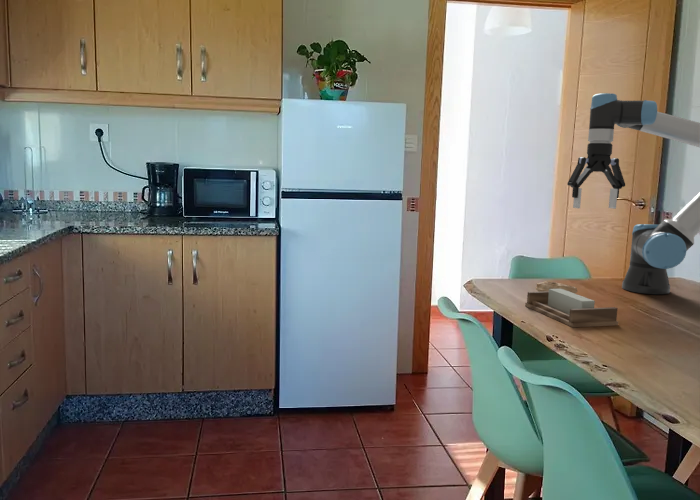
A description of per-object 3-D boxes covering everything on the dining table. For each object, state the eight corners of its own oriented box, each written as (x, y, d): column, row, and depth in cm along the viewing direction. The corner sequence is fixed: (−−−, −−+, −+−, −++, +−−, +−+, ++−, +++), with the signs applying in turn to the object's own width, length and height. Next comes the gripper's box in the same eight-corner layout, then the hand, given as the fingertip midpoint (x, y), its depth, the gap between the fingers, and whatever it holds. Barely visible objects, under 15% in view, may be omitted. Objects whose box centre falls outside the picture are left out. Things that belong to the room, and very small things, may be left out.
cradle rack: (525, 305, 186) (526, 291, 185) (565, 304, 190) (566, 290, 189) (573, 327, 163) (574, 310, 162) (618, 325, 167) (619, 308, 166)
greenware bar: (559, 304, 184) (560, 288, 184) (593, 318, 169) (594, 300, 168) (547, 305, 183) (548, 288, 183) (580, 319, 168) (582, 301, 167)
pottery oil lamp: (578, 300, 194) (572, 282, 191) (540, 309, 199) (533, 291, 196) (577, 286, 201) (571, 268, 199) (540, 294, 206) (534, 277, 204)
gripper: (625, 144, 206) (619, 207, 209) (559, 141, 199) (554, 207, 203) (640, 143, 199) (634, 209, 202) (573, 141, 192) (568, 208, 195)
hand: (594, 208), depth 202 cm, fingers open, 13 cm apart
